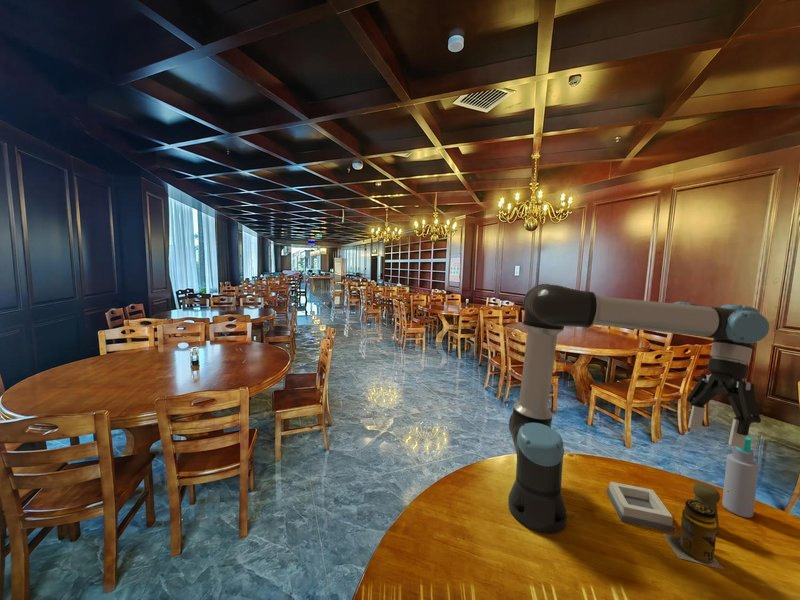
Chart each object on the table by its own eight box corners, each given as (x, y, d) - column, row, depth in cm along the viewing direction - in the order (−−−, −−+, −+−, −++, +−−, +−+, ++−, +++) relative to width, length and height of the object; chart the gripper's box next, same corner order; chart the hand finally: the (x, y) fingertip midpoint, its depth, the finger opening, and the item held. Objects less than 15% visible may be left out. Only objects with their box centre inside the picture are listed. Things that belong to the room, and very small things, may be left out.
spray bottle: (755, 522, 84) (764, 446, 82) (724, 511, 88) (731, 438, 86) (749, 509, 89) (757, 437, 87) (720, 499, 92) (727, 430, 91)
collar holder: (621, 521, 83) (622, 507, 83) (606, 492, 95) (607, 480, 94) (674, 533, 80) (676, 519, 79) (652, 501, 91) (653, 489, 91)
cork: (725, 536, 79) (729, 496, 78) (698, 532, 80) (702, 492, 79) (707, 518, 85) (711, 481, 84) (682, 514, 86) (685, 477, 85)
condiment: (723, 569, 70) (728, 520, 69) (678, 558, 72) (682, 511, 71) (702, 543, 77) (707, 498, 76) (662, 534, 79) (666, 491, 78)
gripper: (795, 371, 70) (777, 461, 69) (708, 360, 95) (694, 427, 94) (756, 362, 72) (738, 450, 71) (680, 353, 96) (666, 419, 95)
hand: (713, 437), depth 82 cm, fingers open, 13 cm apart
